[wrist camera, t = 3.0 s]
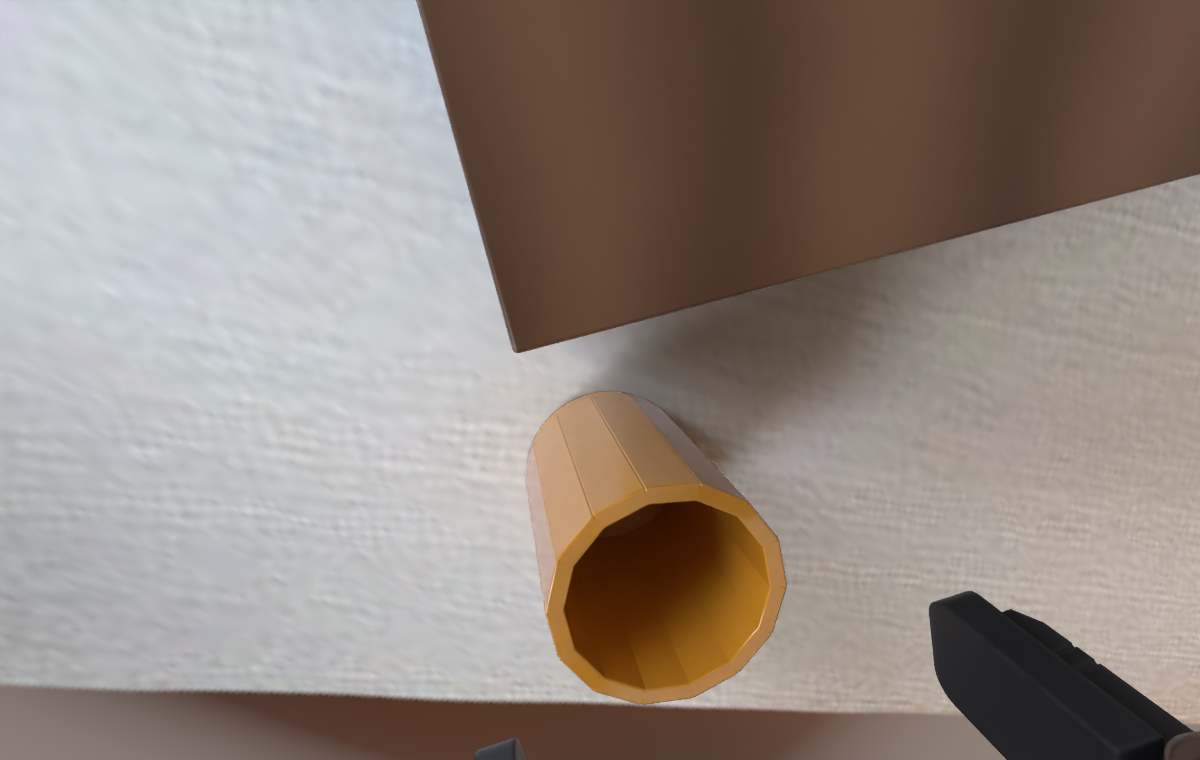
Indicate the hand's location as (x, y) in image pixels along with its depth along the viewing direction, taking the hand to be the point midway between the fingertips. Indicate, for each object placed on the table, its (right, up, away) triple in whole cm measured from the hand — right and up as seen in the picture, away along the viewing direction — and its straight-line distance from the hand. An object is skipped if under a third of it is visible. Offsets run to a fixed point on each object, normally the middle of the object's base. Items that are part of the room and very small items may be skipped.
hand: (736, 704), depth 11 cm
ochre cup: (-2, +3, +12) cm, 12 cm away
